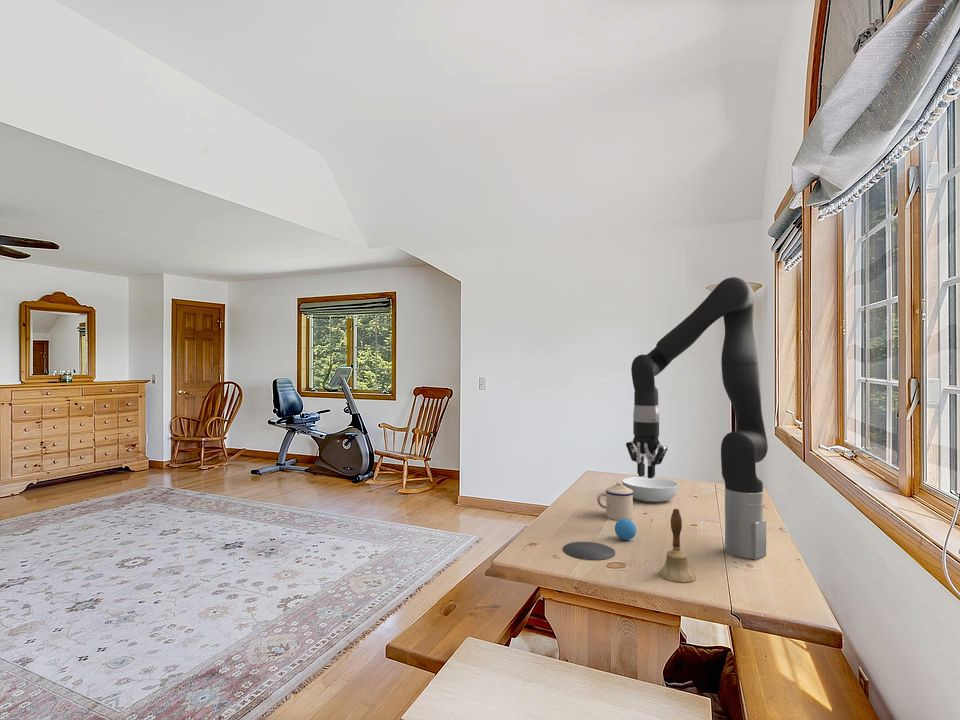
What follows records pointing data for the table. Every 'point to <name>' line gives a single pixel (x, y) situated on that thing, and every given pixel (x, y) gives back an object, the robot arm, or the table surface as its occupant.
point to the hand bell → (676, 556)
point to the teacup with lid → (618, 502)
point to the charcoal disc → (589, 550)
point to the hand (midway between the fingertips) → (646, 476)
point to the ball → (625, 529)
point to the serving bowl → (651, 488)
